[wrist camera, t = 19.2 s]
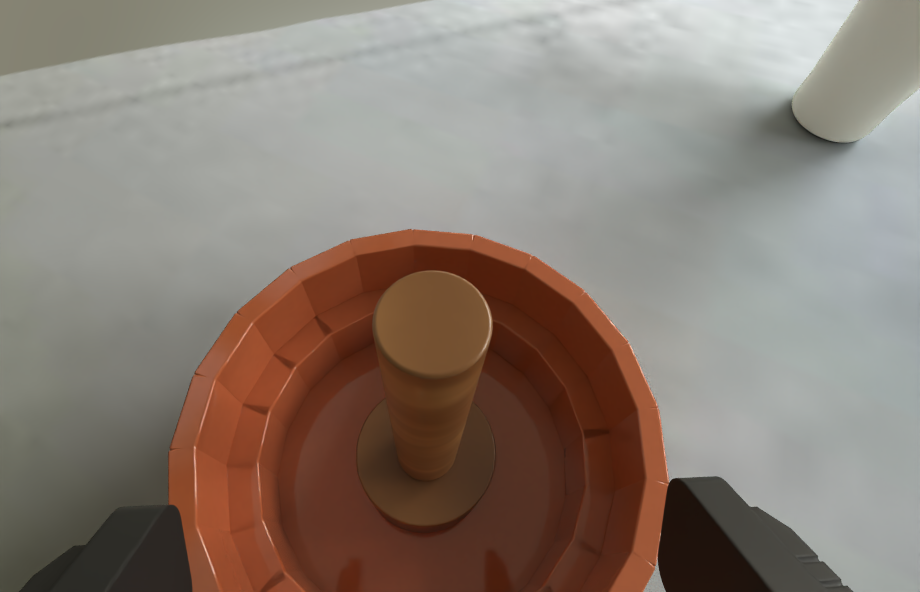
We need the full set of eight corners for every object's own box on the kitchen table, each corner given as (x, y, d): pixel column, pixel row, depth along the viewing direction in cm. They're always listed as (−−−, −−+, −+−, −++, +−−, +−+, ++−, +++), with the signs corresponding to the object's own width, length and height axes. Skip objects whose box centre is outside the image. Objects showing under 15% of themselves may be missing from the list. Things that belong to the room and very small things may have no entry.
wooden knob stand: (403, 561, 20) (374, 539, 7) (341, 445, 22) (238, 276, 9) (511, 485, 21) (634, 364, 9) (445, 383, 23) (472, 171, 11)
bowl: (344, 805, 17) (304, 924, 11) (182, 408, 22) (101, 352, 17) (677, 525, 22) (770, 507, 16) (474, 258, 27) (488, 175, 22)
